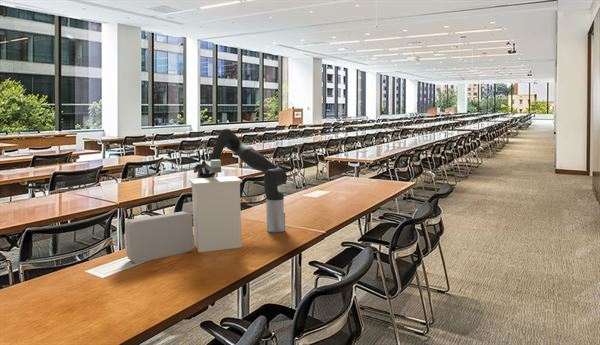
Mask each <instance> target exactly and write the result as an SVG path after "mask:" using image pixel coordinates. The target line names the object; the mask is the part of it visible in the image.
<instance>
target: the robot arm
mask: <svg viewBox="0 0 600 345" xmlns="http://www.w3.org/2000/svg"><path fill="white" fill-rule="evenodd" d="M224 148H225V149H227V150H230V151H231V152H233V153H234V154H236V155H237V156H238V158H239V159H240V160H241V161H242V162H243V164H246V166H247V167H250V168H251V169H253V170H257V171H258V172H263V173H264V175H263V185H264V186H263V187H264V194H265V197H266V199H265V200H266V202H265V203H266V204H265V206H266V231H267V232H268V233H281V232H284V231H285V232H286V213H285V208H284V207H285V206H284V205H285V202H284V201H285V200H284V199H285V198H284V197H285V196H284V193H283V192H280V191H279V190H278V186H283V185H285V184H286V183H287V181H288V175H287V173H286V171H285V170H284V169H283V168H282V167H280V166H278V165H276V164H275V163H273V162H271V161H270V160H269V159H268V158H266V157H265V156H263V155H262V154H261V153H260V152H259V151H258V150H256V149H255V148H253V147H251V146H249V145H247V144H245V142H243V141H242V140H241V139H240V138H239V137H238V135H236V134H235V132H234V131H233V130H231V129H230V128H224V129H222V130H221V131H220V132H219V134H218V136H217V138H216V141H215V143H214V146H213V148H212V151H211V155H210V156H209V158H208V160H207V161H211V160H221V161H222V154H223V152H224V151H223V150H224ZM205 162H206V160H203V161H202V162H201V164H200V163H198V164H196V165H195V166H194V167H193V169H192V170H193V173H194V174H196V173H197V176H196V177H195V179H197V178H214V177H215V175H216V174H217V173H212V172H211V171H209V170H208V169H206V168H205ZM190 186H191V187H192V184H191V185H190Z"/></svg>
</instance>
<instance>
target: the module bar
mask: <svg viewBox="0 0 600 345" xmlns="http://www.w3.org/2000/svg"><path fill="white" fill-rule="evenodd" d="M205 168H206V169H208V170H209V171H211V172H212V173H216V174H218V173H222V159H221V160H211V161H208V160H207V161H206V160H205Z"/></svg>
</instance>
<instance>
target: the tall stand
mask: <svg viewBox="0 0 600 345" xmlns="http://www.w3.org/2000/svg"><path fill="white" fill-rule="evenodd" d="M196 178H197V177H196ZM196 178H189V183H190V184H191V185H192V186H191V191H192V192H191V195H192V196H191V197H192V224H193V246H194V247H195V249H196V251H197V252H198V253H207V252H213V251H222V250H229V249H230V250H231V249H240V248H242V247H243V246H242V216H241V214H242V213H241V183H243V179H241V178H239V177H238V176H236V175H235V176H234V175H232V176H231V175H230V176H217V177H215V176H214V177H213V178H197V179H196Z"/></svg>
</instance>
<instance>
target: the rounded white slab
mask: <svg viewBox="0 0 600 345" xmlns="http://www.w3.org/2000/svg"><path fill="white" fill-rule="evenodd" d="M124 228H125V230H124V231H125V245H126V246H125V247H126V256H127V258H128V260H130V261H131V262H132V263H135V264H138V263H143V262H147V261H152V260H153V261H154V260H157V259H161V258H165V257H170V256H176V255H180V254H184V253H189V252H192V249H194V248H193V247H194V223H193V215H192V214H190V213H188V212H186V211H178V212H177V211H176V212H170V213H165V214H158V215H152V216H146V217H145V216H144V217H140V218H133V219H129V220H127V221H126V223H125V225H124Z"/></svg>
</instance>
